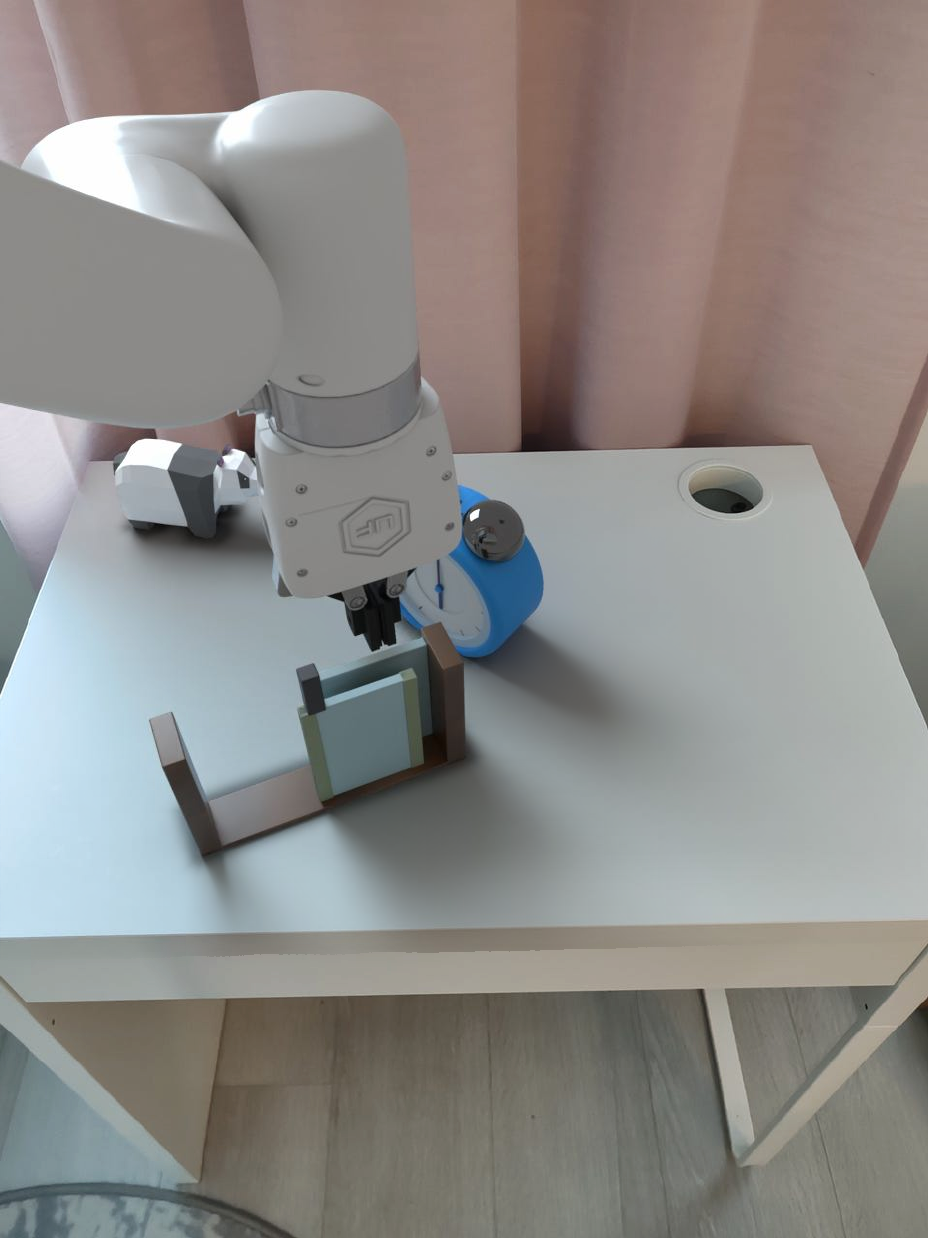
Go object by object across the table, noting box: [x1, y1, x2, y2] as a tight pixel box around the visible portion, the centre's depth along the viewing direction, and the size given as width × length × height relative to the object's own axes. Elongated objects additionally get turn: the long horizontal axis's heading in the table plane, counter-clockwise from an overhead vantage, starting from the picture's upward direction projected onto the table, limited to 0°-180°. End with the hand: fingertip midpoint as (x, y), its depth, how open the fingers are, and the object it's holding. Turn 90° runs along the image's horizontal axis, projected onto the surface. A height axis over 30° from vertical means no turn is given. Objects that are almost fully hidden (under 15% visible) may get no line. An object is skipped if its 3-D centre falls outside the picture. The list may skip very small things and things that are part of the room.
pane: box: [295, 662, 424, 802], centre depth 67 cm, size 8×1×14 cm, turn 113°
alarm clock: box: [399, 484, 545, 658], centre depth 78 cm, size 13×6×15 cm, turn 51°
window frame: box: [148, 622, 467, 858], centre depth 69 cm, size 20×4×12 cm, turn 113°
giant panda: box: [112, 438, 259, 539], centre depth 89 cm, size 15×6×10 cm, turn 80°
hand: (375, 631), depth 61 cm, fingers closed
